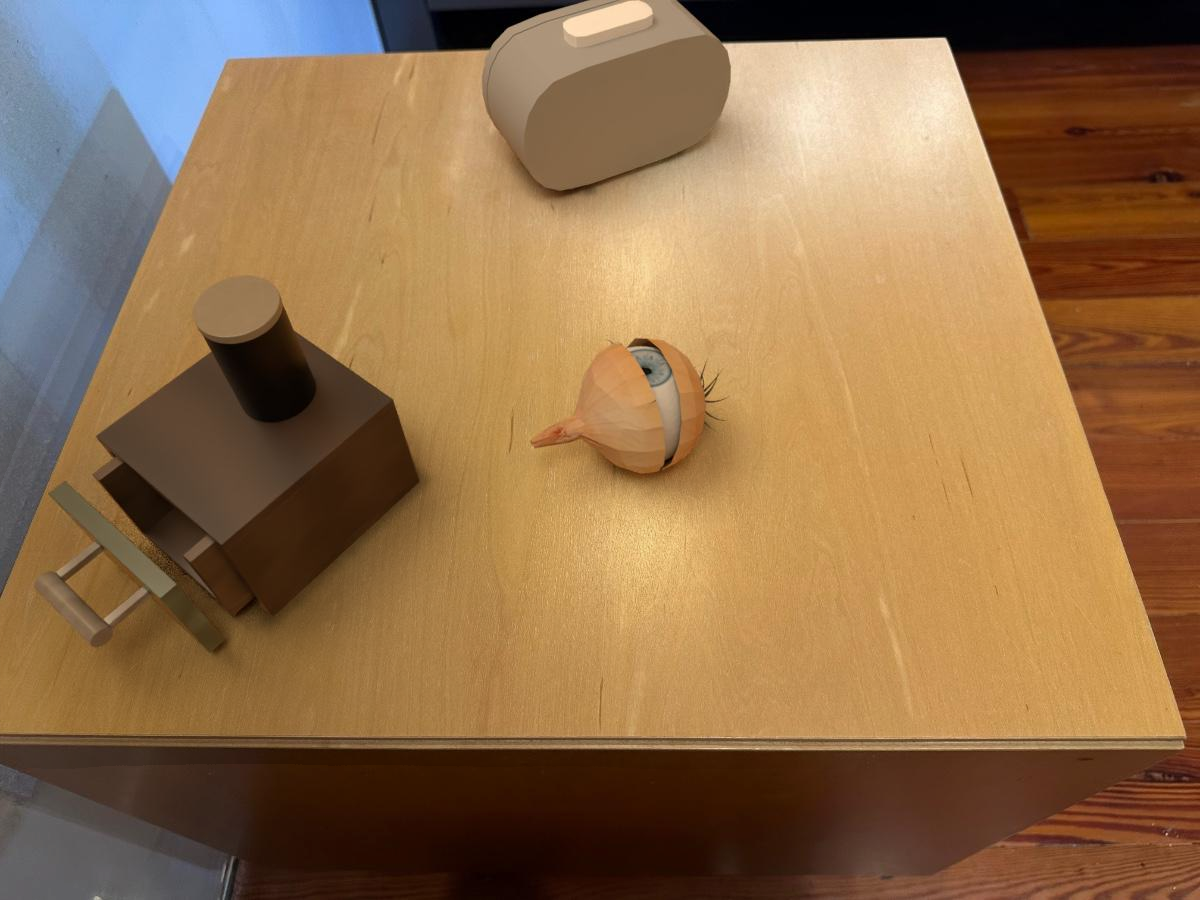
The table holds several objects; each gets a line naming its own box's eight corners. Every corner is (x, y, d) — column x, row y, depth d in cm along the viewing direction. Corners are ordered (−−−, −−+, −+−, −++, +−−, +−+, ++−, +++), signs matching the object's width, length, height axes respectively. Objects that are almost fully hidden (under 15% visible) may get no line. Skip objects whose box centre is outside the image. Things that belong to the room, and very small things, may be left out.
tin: (254, 435, 57) (207, 349, 51) (229, 383, 60) (181, 295, 53) (328, 402, 58) (291, 315, 52) (301, 353, 61) (263, 263, 54)
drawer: (154, 704, 56) (94, 654, 50) (50, 599, 60) (-17, 540, 54) (357, 520, 64) (327, 455, 57) (252, 438, 68) (214, 369, 61)
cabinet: (272, 617, 60) (221, 545, 53) (157, 515, 65) (94, 435, 57) (419, 481, 66) (393, 398, 59) (305, 397, 71) (266, 310, 63)
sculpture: (773, 378, 61) (567, 411, 55) (739, 480, 67) (549, 520, 61) (706, 303, 67) (513, 325, 61) (680, 403, 73) (502, 432, 67)
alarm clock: (674, 92, 93) (681, -41, 82) (723, 143, 88) (738, 9, 77) (488, 153, 88) (470, 19, 77) (530, 211, 83) (517, 77, 72)
